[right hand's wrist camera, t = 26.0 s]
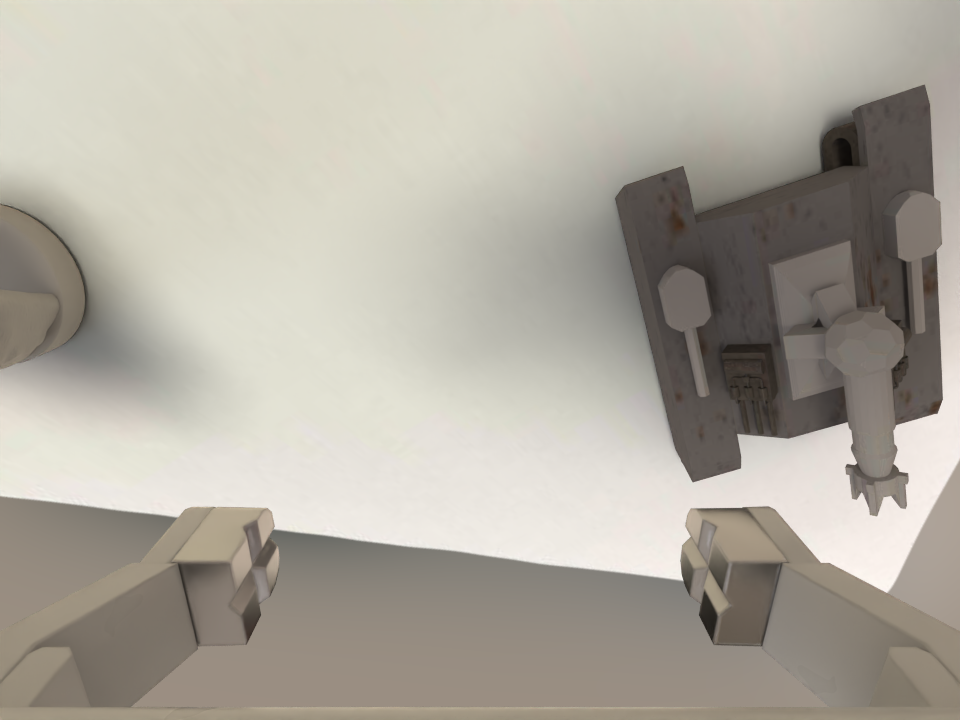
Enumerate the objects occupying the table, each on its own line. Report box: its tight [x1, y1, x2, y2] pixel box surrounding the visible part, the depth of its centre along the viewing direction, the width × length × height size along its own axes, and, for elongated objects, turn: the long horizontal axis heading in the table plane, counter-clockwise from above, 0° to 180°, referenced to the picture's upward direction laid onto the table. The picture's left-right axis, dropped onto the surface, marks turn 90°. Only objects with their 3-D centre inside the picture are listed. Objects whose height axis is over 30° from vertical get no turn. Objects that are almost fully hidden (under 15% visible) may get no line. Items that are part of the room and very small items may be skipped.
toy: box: [615, 85, 943, 516], centre depth 38 cm, size 25×20×15 cm
